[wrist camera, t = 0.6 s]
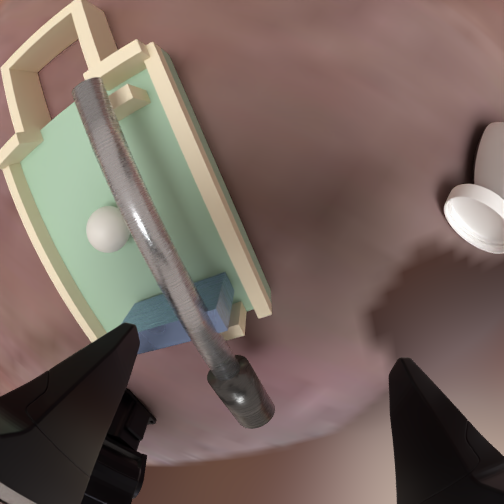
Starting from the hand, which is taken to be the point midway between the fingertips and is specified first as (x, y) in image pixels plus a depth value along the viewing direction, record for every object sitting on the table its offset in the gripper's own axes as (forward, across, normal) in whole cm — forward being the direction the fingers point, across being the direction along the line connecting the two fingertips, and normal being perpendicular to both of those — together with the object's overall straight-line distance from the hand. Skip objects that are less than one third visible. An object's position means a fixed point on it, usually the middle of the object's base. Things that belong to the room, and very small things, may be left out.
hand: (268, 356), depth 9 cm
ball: (+11, +11, +1) cm, 16 cm away
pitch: (+13, +13, -2) cm, 19 cm away
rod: (+10, +8, +4) cm, 14 cm away
